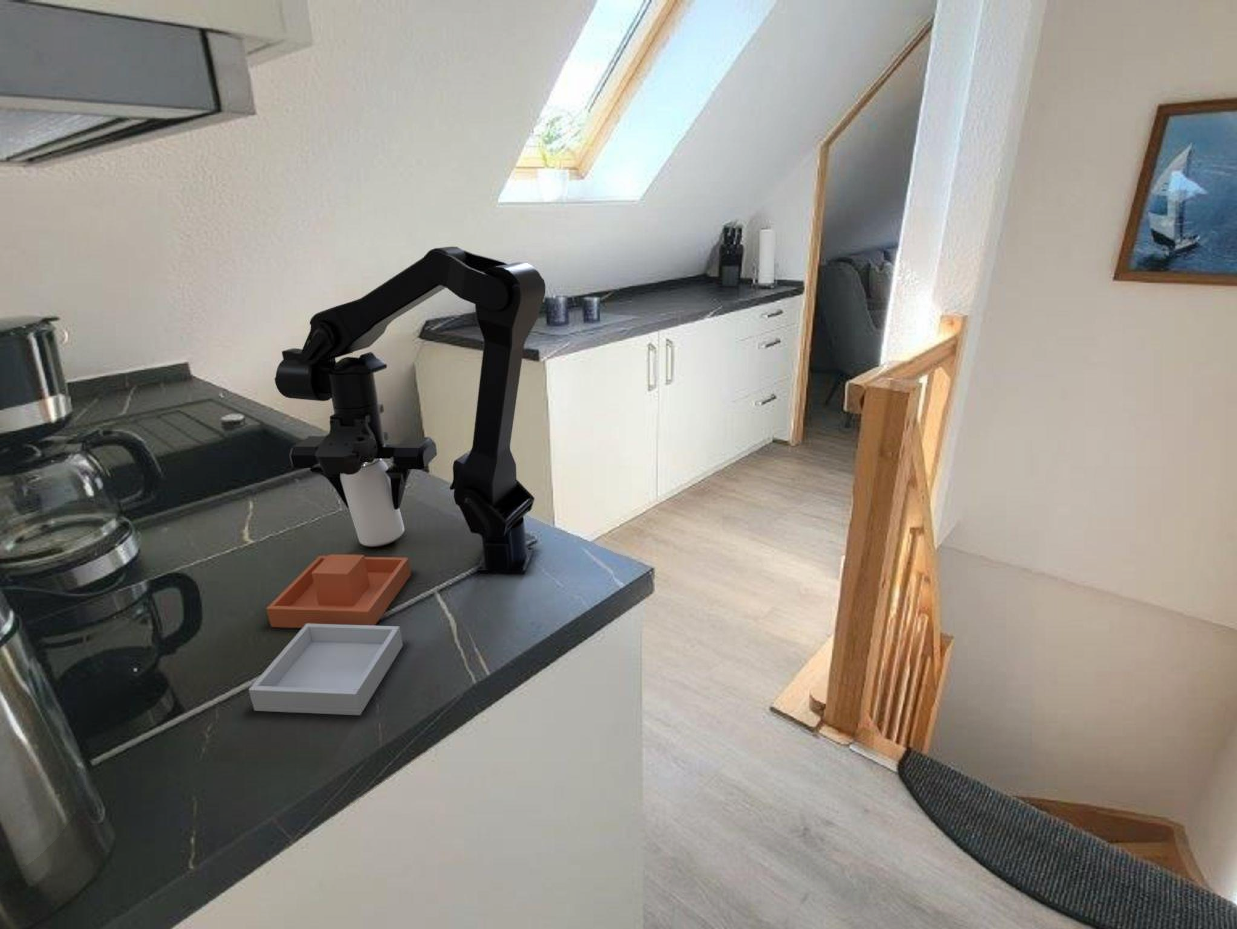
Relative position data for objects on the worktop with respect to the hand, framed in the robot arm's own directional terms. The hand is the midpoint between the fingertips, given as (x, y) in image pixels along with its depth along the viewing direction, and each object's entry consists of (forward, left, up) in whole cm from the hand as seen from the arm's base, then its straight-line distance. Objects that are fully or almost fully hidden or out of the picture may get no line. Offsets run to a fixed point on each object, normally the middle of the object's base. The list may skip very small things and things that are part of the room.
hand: (373, 507), depth 93 cm
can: (0, +1, -5) cm, 5 cm away
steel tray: (+29, +8, -5) cm, 30 cm away
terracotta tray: (+15, +2, -5) cm, 16 cm away
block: (+15, +2, -5) cm, 16 cm away
